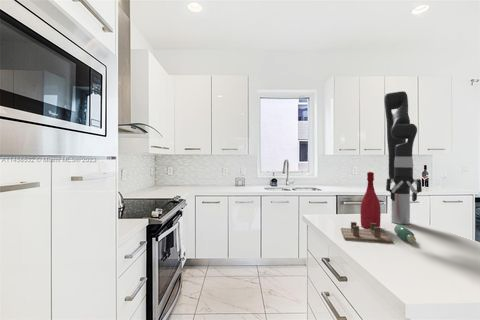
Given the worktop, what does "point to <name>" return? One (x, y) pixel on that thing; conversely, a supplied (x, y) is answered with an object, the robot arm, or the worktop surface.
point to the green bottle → (404, 233)
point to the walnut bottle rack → (365, 234)
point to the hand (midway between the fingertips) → (403, 200)
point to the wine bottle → (370, 205)
